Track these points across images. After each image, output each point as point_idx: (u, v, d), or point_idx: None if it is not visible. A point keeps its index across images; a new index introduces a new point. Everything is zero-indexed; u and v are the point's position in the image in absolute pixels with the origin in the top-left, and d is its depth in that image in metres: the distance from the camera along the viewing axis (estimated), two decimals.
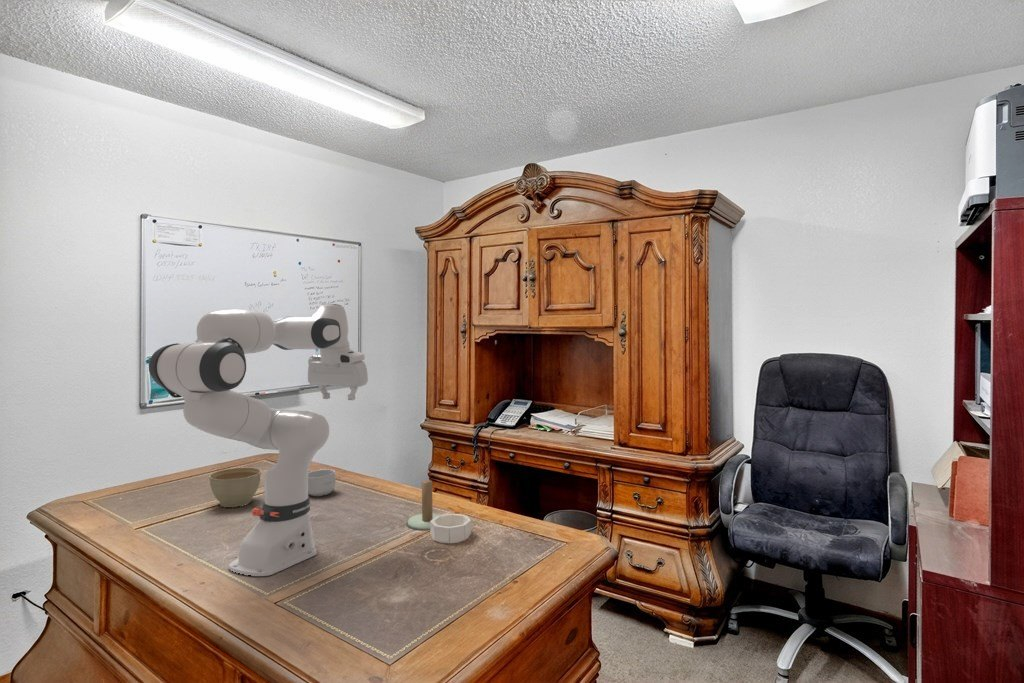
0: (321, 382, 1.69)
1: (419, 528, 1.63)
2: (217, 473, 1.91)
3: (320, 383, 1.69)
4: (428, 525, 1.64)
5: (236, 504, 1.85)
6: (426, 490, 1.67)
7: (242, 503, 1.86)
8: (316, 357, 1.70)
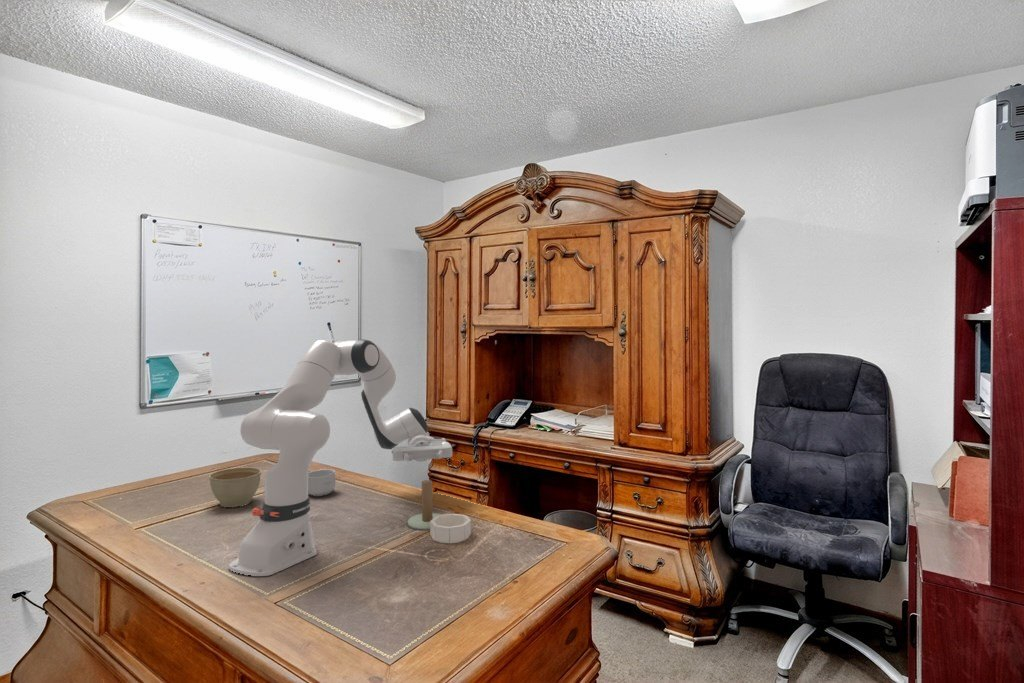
0: (408, 449, 1.84)
1: (419, 528, 1.63)
2: (217, 473, 1.91)
3: (407, 449, 1.84)
4: (428, 525, 1.64)
5: (236, 504, 1.85)
6: (426, 490, 1.67)
7: (242, 503, 1.86)
8: None
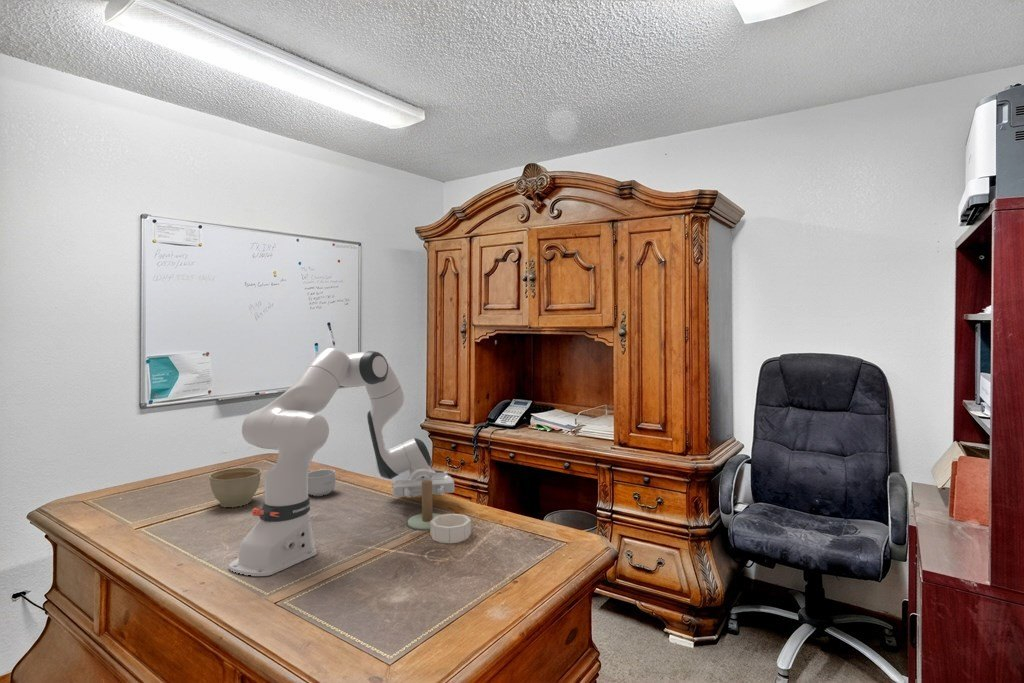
0: (409, 484, 1.78)
1: (419, 528, 1.63)
2: (217, 473, 1.91)
3: (408, 485, 1.78)
4: (428, 525, 1.64)
5: (236, 504, 1.85)
6: (426, 490, 1.67)
7: (242, 503, 1.86)
8: None
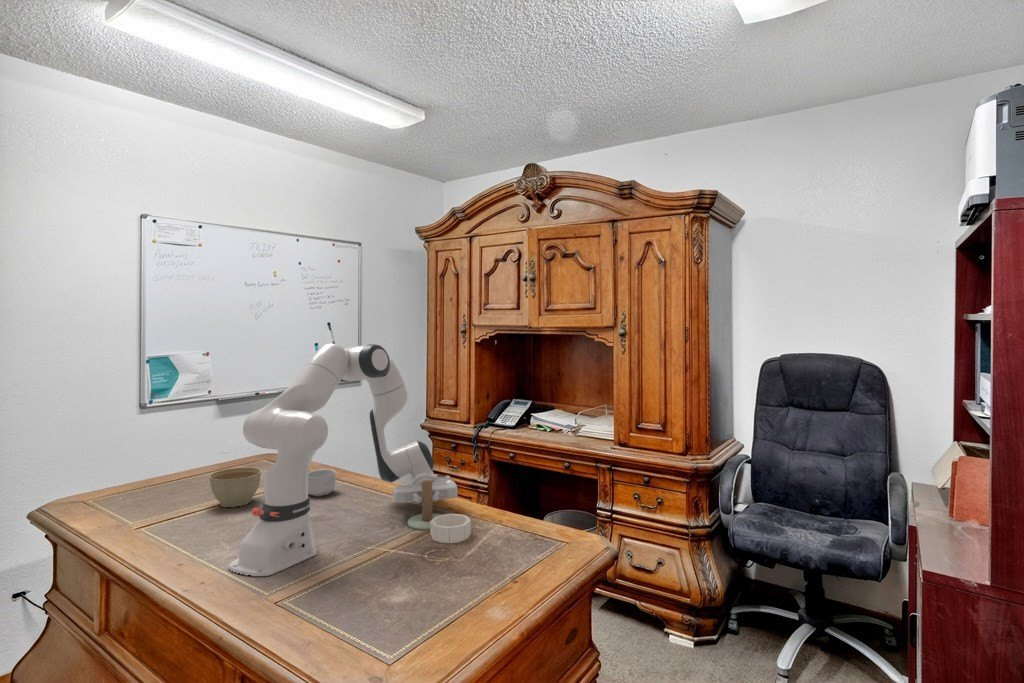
0: (411, 489, 1.72)
1: (419, 528, 1.63)
2: (217, 473, 1.91)
3: (409, 490, 1.71)
4: (428, 525, 1.64)
5: (236, 504, 1.85)
6: (426, 490, 1.67)
7: (242, 503, 1.86)
8: None
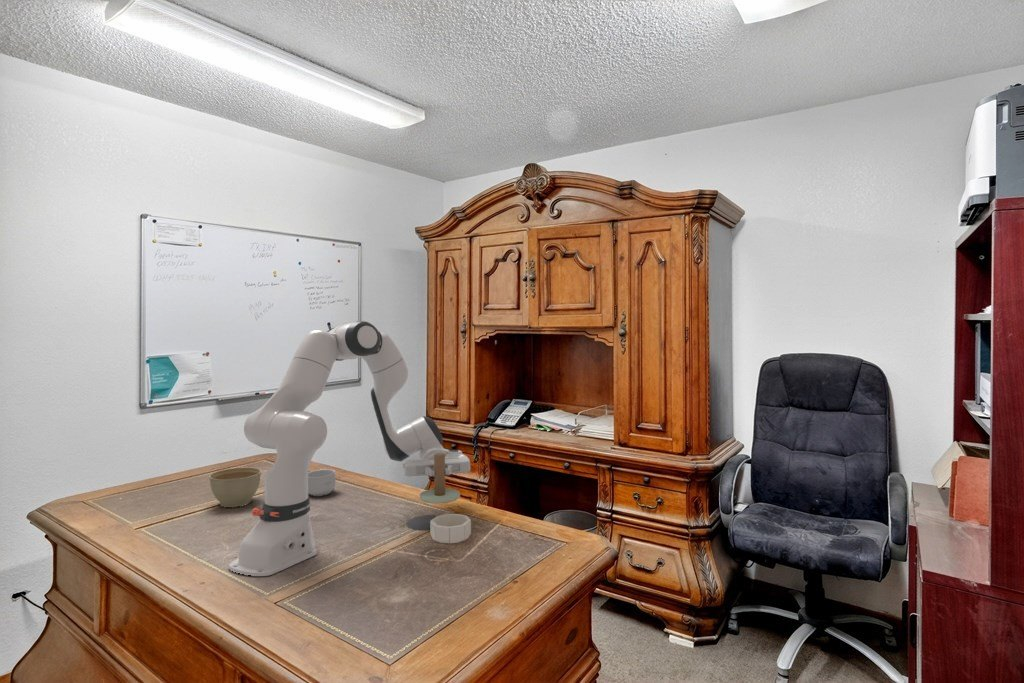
0: (422, 463, 1.66)
1: (432, 502, 1.57)
2: (217, 473, 1.91)
3: (421, 463, 1.65)
4: (441, 499, 1.58)
5: (236, 504, 1.85)
6: (439, 463, 1.61)
7: (242, 503, 1.86)
8: None
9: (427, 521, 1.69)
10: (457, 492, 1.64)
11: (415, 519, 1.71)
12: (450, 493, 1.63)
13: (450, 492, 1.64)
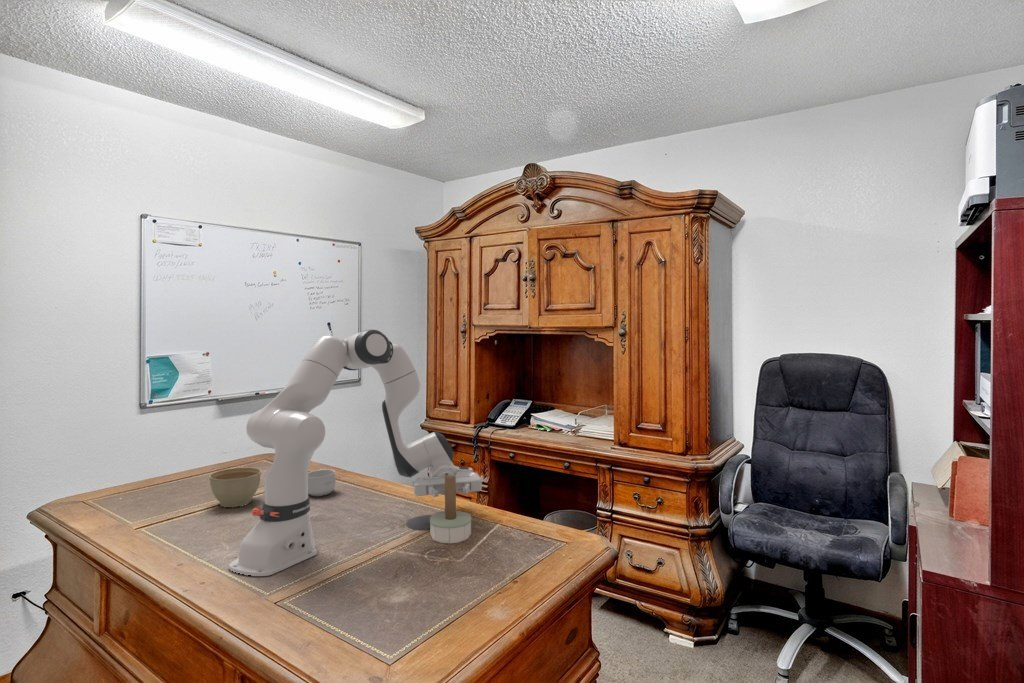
0: (432, 482, 1.61)
1: (443, 526, 1.52)
2: (217, 473, 1.91)
3: (431, 482, 1.61)
4: (452, 523, 1.53)
5: (236, 504, 1.85)
6: (450, 486, 1.56)
7: (242, 503, 1.86)
8: None
9: (427, 521, 1.69)
10: (468, 515, 1.59)
11: (415, 519, 1.71)
12: (461, 516, 1.58)
13: (461, 515, 1.59)
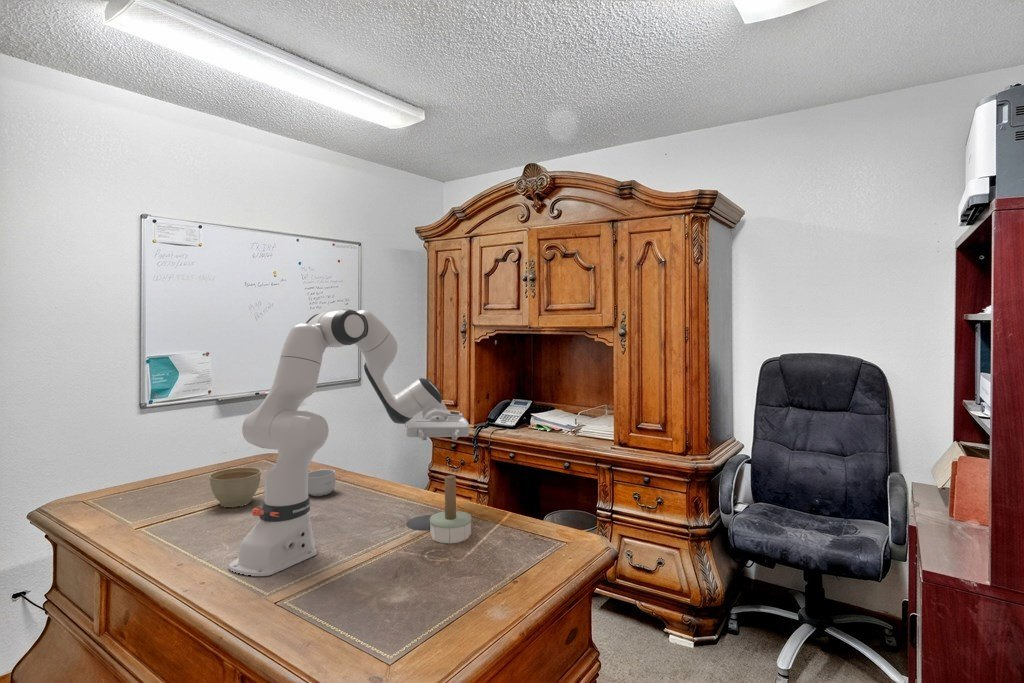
0: (423, 425, 1.73)
1: (443, 526, 1.52)
2: (217, 473, 1.91)
3: (422, 426, 1.72)
4: (452, 523, 1.53)
5: (236, 504, 1.85)
6: (450, 486, 1.56)
7: (242, 503, 1.86)
8: None
9: (427, 521, 1.69)
10: (468, 515, 1.59)
11: (415, 519, 1.71)
12: (461, 516, 1.58)
13: (461, 515, 1.59)
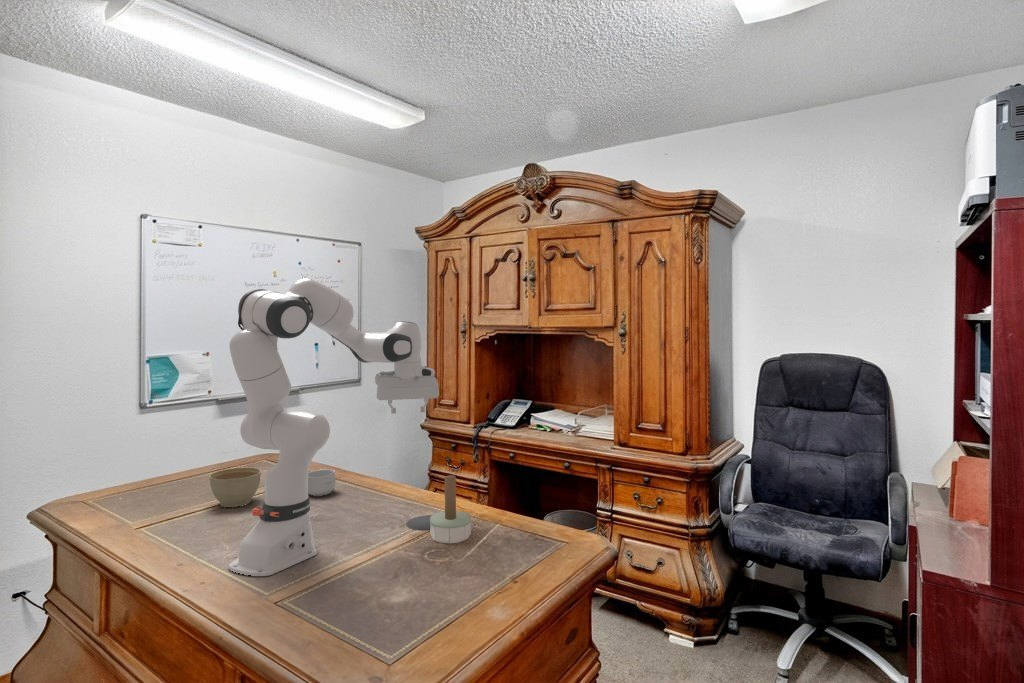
0: (393, 397, 1.76)
1: (443, 526, 1.52)
2: (217, 473, 1.91)
3: (392, 398, 1.76)
4: (452, 523, 1.53)
5: (236, 504, 1.85)
6: (450, 486, 1.56)
7: (242, 503, 1.86)
8: (386, 373, 1.76)
9: (427, 521, 1.69)
10: (468, 515, 1.59)
11: (415, 519, 1.71)
12: (461, 516, 1.58)
13: (461, 515, 1.59)
